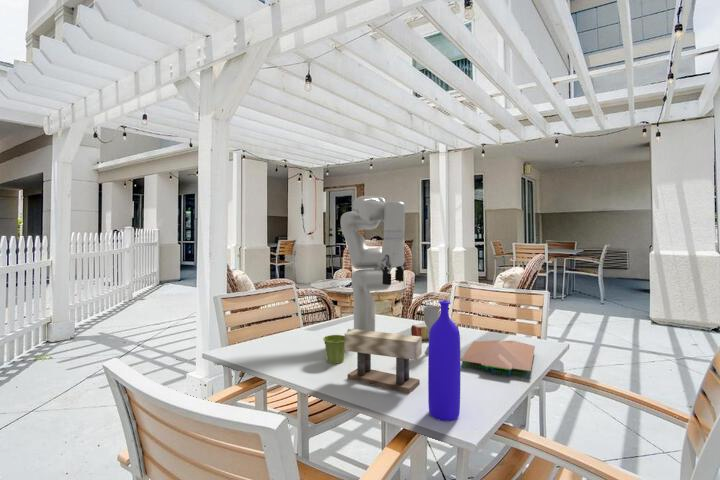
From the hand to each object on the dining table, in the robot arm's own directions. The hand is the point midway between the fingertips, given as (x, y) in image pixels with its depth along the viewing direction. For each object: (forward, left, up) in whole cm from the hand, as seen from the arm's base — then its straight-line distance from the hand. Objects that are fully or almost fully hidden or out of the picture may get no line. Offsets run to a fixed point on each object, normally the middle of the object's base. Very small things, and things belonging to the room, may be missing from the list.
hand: (393, 282), depth 138 cm
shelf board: (+4, -17, -20) cm, 27 cm away
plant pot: (-20, -9, -30) cm, 37 cm away
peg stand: (+4, -17, -30) cm, 34 cm away
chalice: (+7, +19, -30) cm, 36 cm away
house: (+33, +22, -30) cm, 50 cm away
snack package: (+1, +40, -30) cm, 50 cm away
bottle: (+28, -28, -30) cm, 50 cm away
